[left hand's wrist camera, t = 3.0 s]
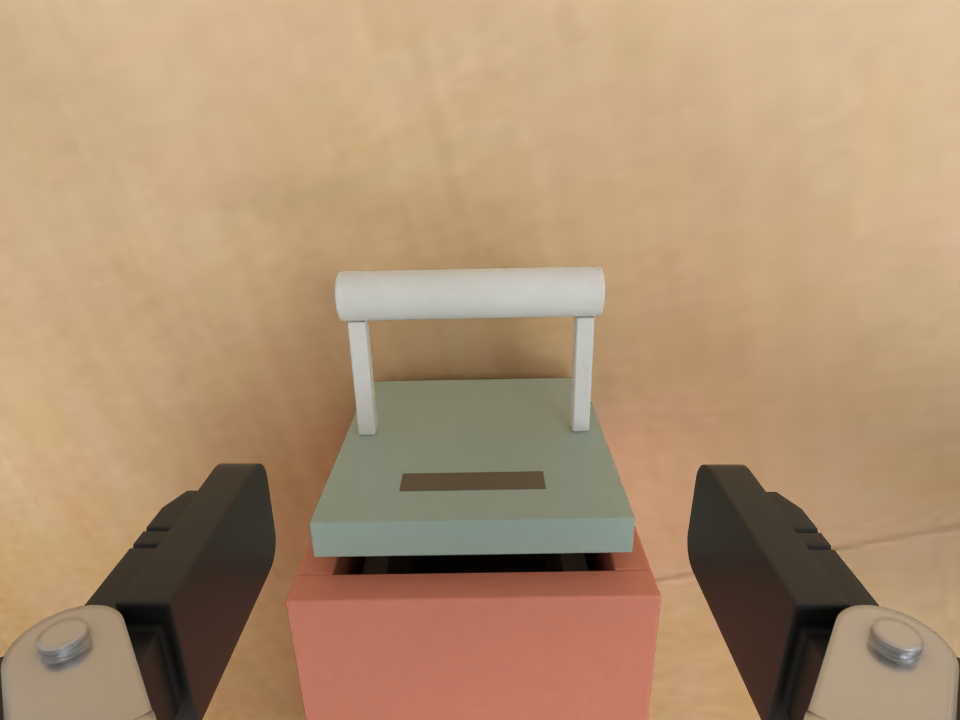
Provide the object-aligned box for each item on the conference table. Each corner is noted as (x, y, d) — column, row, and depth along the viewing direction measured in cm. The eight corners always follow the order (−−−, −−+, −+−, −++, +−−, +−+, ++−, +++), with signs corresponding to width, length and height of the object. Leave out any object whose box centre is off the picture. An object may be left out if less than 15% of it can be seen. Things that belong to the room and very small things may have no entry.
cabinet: (362, 408, 28) (284, 601, 17) (590, 404, 28) (662, 595, 17) (394, 735, 36) (355, 1015, 25) (574, 732, 36) (617, 1013, 25)
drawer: (355, 244, 24) (279, 323, 15) (588, 239, 24) (652, 317, 15) (399, 710, 34) (368, 934, 25) (568, 708, 34) (600, 932, 24)
